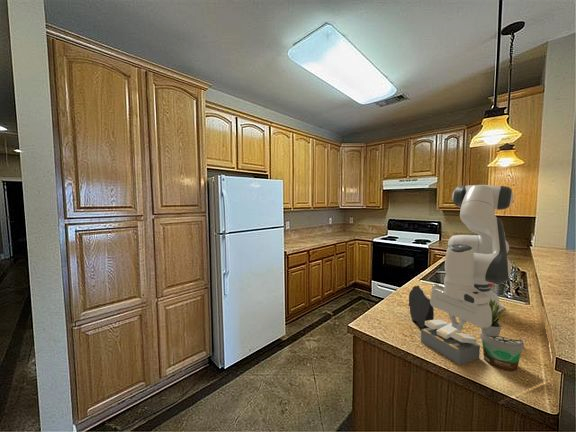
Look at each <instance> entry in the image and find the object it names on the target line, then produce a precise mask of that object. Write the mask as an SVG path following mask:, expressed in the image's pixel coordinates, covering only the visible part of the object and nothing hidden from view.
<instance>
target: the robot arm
mask: <svg viewBox="0 0 576 432" xmlns="http://www.w3.org/2000/svg"><path fill="white" fill-rule="evenodd" d="M514 196H515V195H514V192H513V191H512V188H511V187H509V186H505V185H493V184H473V185H472V184H471V185H466V184H464V185H458V186H456V187H455V188H454V190H453V192H452V194H451V199H452V203H453V205H455V206H456V207H459V208H460V210H459V211H460V212H459V218H460V220H461V222H462V224H464V225H465V226H466V228H467V229H468V230H469V231H470V232H473V233H474V234H477V235H474V234H473V235H472V234H457V235H452V236H450V238H449V239H448V241H447V246H448V247H447V248H446V252H445V259H444V272H445V275H444V280H443V284H440V283H434V284H432V286H431V293H430V298H429V299H430V304H431V306H432V307H433V308H434V309H437V310H439V311H442V312H444V313H447V314H448V318H449V320H450V323H452V327H454V328H456V329H458V330H461V331H462V330H464V325H465V324H467V323H469V324H472V325H474V326H476V327H479V328H487V327H489V326H491V325H492V311H491V307H490V306H489V302H490V297H491V299H492V301H494V300H495V301H494V302H495V303H494V306H493V311H494V308H495V304H496V301H497V306H498V304H499V309H498V311H497V314H498V313H499V312H502V311H504V310H505V309H506V306H504V305H503V304H501V303H500V297H499V295H498V294H496V293H495V292H494V291H493V290H492V288H494V286H495V284H496V285H500V284H504V283H505V282H508V281H509V280H510V278H511V275H512V266H511V263H510V261H509V260H510V259H509V256H508V252H510V245H509V242H508V241H507V240H506V233H505V227H504V223H503V221H502V219H501V218H499V217H497V216H496V210H497V211H501V210H507V209H508V208H510V206H511V205H512V204H513V201H514V198H515V197H514ZM487 303H488V304H487ZM456 318H458V321H459V322H458V321H457V319H456Z"/></svg>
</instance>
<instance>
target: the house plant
mask: <svg viewBox="0 0 576 432" xmlns="http://www.w3.org/2000/svg"><path fill="white" fill-rule="evenodd" d="M494 301H495V300H494ZM494 301H492V299H491V297H490V302H489V306H490V307H491V311H492V325H491V326H489V327H487V328H481V327H480V328H481V334H482V333H483V334H485V335H488V336H500V333H501V330H502V327H503V326H502V324H501V321H500V320H501V317H509V318H510V316H509V315H504V314H503V315H501V314H502V313H503V312H505V311H507V308H505V309H504V310H501V311H500V312H498V313H497V311H498V309H499V304H500V303H499V304H498V306H497V301H496V304H495V308H494V311H493V306H494V303H495V302H494ZM487 304H488V303H487ZM502 323H503V324H505V323H506V322H505V321H502Z"/></svg>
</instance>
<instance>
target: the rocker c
mask: <svg viewBox="0 0 576 432" xmlns="http://www.w3.org/2000/svg"><path fill="white" fill-rule="evenodd" d="M450 337H452V338H454V339H456V340H458V341H460V342H464V343H475V344H477V338H475V337H473V336H472V335H470V334H467V333H462V332H461V333H460V332H459V333H455V332H451V336H450Z"/></svg>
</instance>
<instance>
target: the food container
mask: <svg viewBox="0 0 576 432" xmlns="http://www.w3.org/2000/svg"><path fill="white" fill-rule="evenodd" d="M479 338H480V339H481V341H482V353H483V360H484V362H486V363H487V364H489V365H490V366H492V367H494V368H495V369H499V370H502V371H505V372H506V371H507V372H515V371H518V368H519V364H520V358H521V354H522V353H521V352H522V351H523V350H524V349H525V343H524V340H523V338H520V339H514V338H508V337H506V336H505V337H504V336H500V335H499V336H488V335H485V334H483V333H482V332H481V333H480V335H479Z"/></svg>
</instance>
